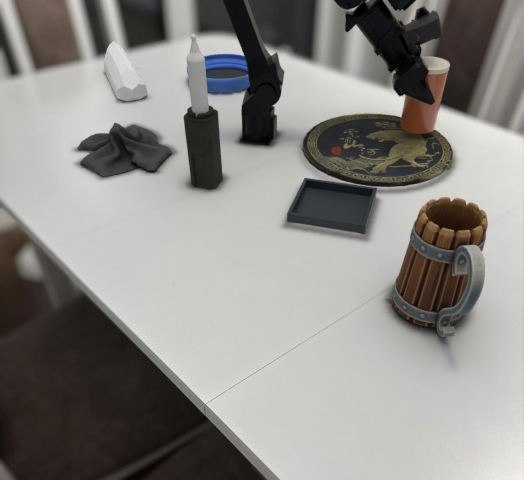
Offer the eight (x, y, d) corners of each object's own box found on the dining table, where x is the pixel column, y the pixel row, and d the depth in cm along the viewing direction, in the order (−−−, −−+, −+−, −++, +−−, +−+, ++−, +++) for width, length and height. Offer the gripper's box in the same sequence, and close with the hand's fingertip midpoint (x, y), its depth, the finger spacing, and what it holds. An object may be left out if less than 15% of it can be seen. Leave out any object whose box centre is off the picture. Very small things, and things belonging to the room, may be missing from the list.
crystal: (92, 54, 137) (107, 88, 121) (113, 36, 136) (131, 68, 120) (112, 79, 142) (129, 114, 127) (132, 61, 141) (152, 95, 126)
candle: (224, 177, 101) (214, 30, 83) (214, 190, 98) (201, 41, 80) (200, 172, 103) (185, 27, 84) (189, 185, 99) (171, 37, 81)
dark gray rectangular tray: (286, 226, 90) (287, 213, 88) (304, 189, 98) (304, 177, 96) (363, 238, 87) (365, 225, 85) (375, 200, 95) (377, 187, 93)
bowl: (258, 94, 128) (258, 79, 125) (184, 94, 128) (182, 79, 126) (259, 67, 140) (259, 52, 138) (191, 67, 141) (190, 53, 138)
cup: (421, 137, 105) (436, 72, 96) (392, 126, 108) (403, 62, 99) (441, 126, 108) (457, 63, 99) (412, 115, 111) (425, 53, 103)
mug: (382, 283, 79) (400, 193, 68) (451, 278, 80) (480, 189, 69) (411, 360, 69) (438, 269, 58) (490, 354, 69) (531, 263, 58)
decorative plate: (291, 174, 98) (313, 107, 118) (291, 183, 99) (312, 115, 119) (457, 190, 94) (450, 118, 114) (454, 200, 95) (448, 127, 115)
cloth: (179, 168, 104) (175, 138, 99) (82, 184, 100) (74, 153, 96) (159, 121, 118) (155, 93, 114) (74, 133, 115) (67, 104, 110)
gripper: (428, 10, 85) (477, 84, 93) (415, -19, 98) (460, 48, 105) (371, 62, 91) (422, 127, 99) (366, 28, 104) (412, 88, 112)
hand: (430, 95), depth 103 cm, fingers closed on cup, 7 cm apart
